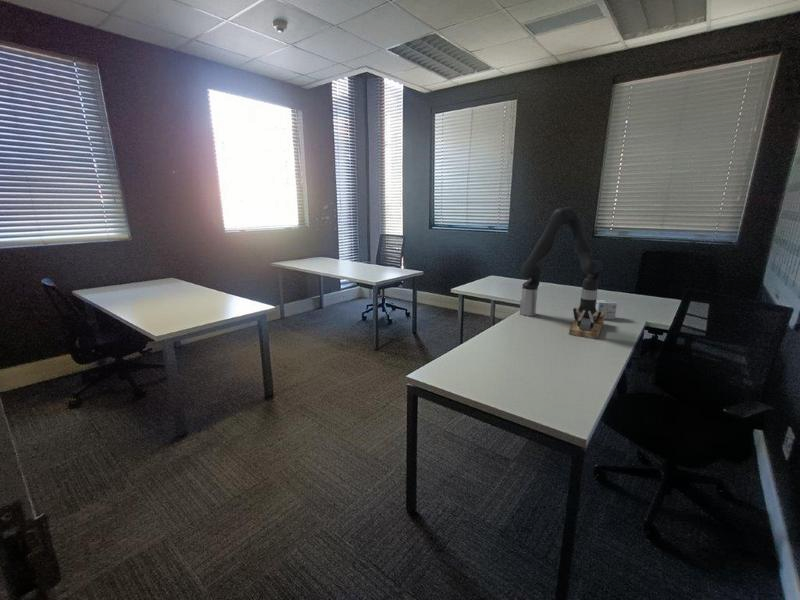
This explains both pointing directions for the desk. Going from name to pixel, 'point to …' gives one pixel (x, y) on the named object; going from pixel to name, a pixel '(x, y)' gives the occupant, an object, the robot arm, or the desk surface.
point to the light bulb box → (607, 308)
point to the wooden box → (593, 332)
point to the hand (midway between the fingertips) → (585, 327)
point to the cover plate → (585, 324)
